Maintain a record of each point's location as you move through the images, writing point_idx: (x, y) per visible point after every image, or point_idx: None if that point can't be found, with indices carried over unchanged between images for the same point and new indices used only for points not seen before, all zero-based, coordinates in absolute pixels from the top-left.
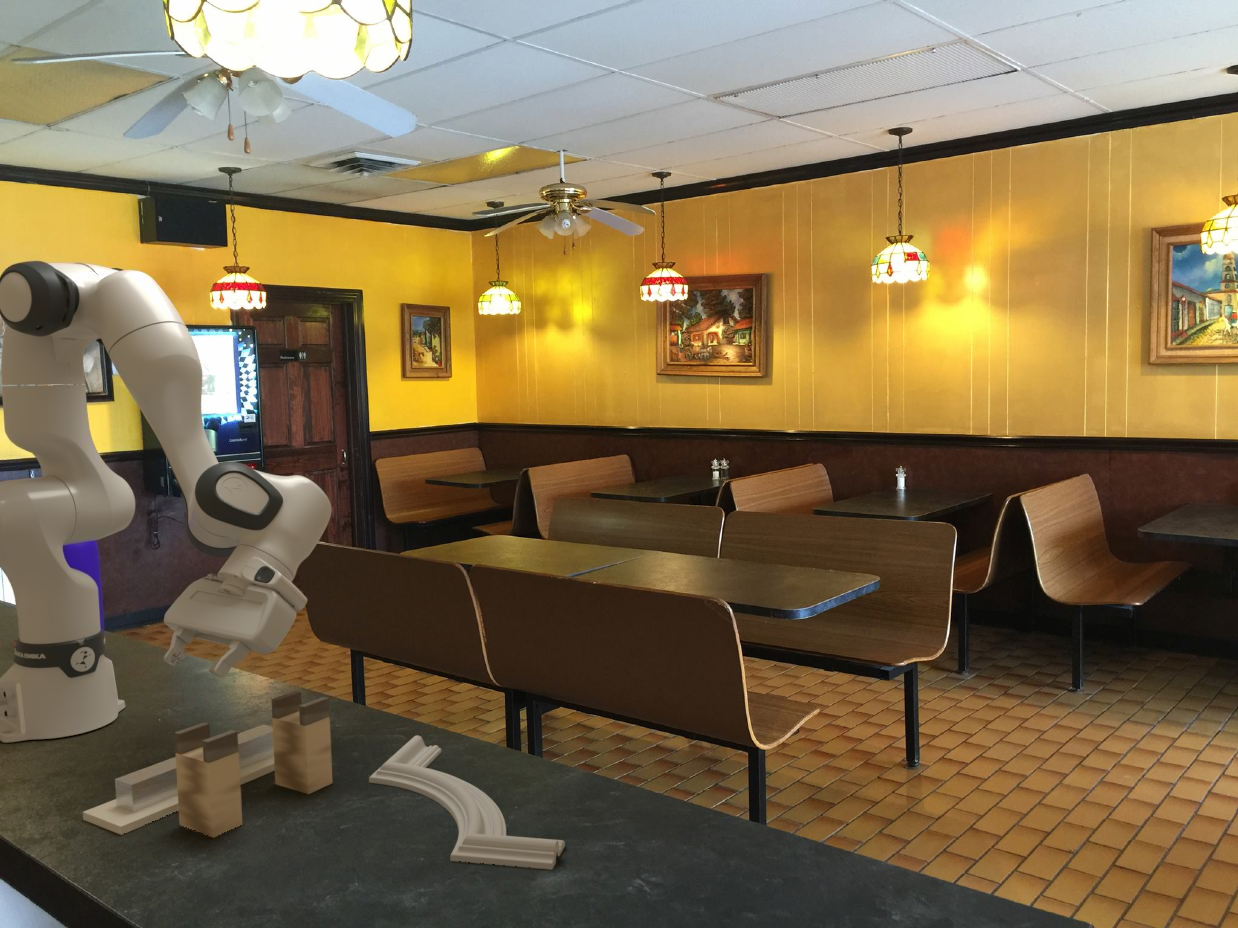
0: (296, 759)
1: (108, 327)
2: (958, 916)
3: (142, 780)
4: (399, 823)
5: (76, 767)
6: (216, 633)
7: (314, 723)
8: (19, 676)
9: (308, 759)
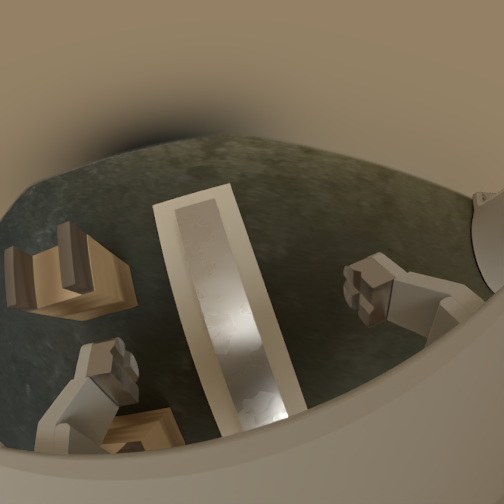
0: (113, 426)
1: None
2: None
3: (179, 225)
4: (13, 419)
5: (397, 223)
6: (165, 448)
7: None
8: None
9: None
